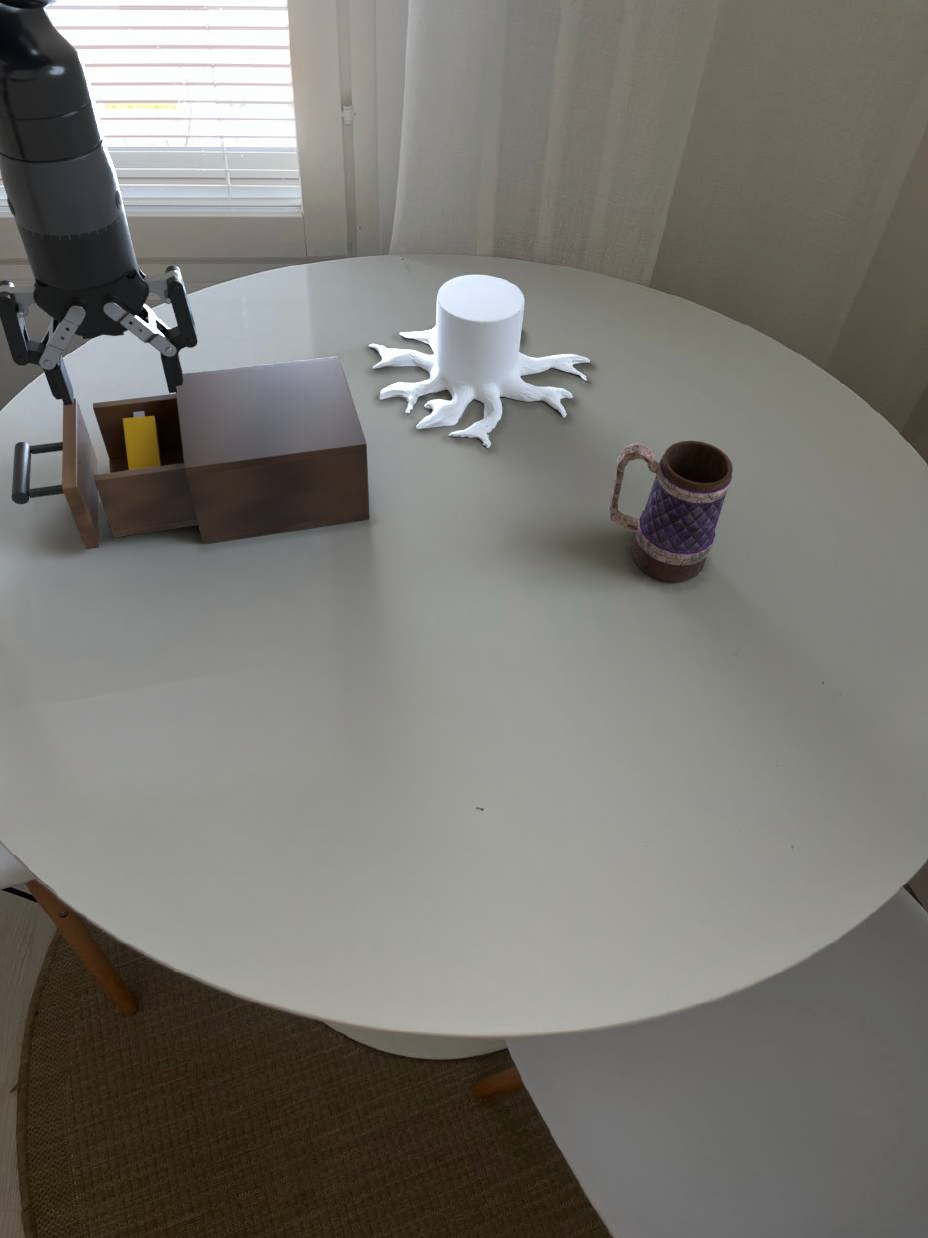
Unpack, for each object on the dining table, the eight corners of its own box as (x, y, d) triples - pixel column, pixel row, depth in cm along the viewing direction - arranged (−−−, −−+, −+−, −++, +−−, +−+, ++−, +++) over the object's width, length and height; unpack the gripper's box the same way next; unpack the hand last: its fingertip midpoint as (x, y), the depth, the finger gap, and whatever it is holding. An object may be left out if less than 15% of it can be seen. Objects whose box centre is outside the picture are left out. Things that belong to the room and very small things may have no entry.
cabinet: (203, 544, 84) (184, 468, 77) (191, 450, 92) (173, 374, 85) (369, 519, 87) (366, 444, 80) (343, 431, 96) (338, 355, 89)
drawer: (27, 558, 81) (-1, 497, 75) (31, 467, 88) (6, 405, 83) (249, 525, 85) (238, 465, 79) (234, 441, 92) (223, 380, 87)
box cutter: (167, 503, 84) (164, 493, 82) (135, 506, 84) (131, 496, 81) (156, 418, 86) (153, 405, 84) (125, 420, 86) (121, 408, 83)
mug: (709, 541, 88) (745, 443, 78) (699, 593, 83) (735, 495, 74) (606, 515, 89) (629, 416, 80) (590, 564, 85) (613, 465, 76)
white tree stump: (336, 353, 104) (331, 278, 97) (512, 297, 114) (519, 225, 107) (442, 466, 93) (445, 389, 86) (628, 392, 102) (645, 318, 95)
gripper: (166, 175, 69) (202, 359, 82) (-35, 189, 66) (34, 377, 79) (173, 223, 65) (210, 409, 77) (-43, 239, 62) (32, 431, 74)
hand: (121, 393), depth 78 cm, fingers open, 8 cm apart
